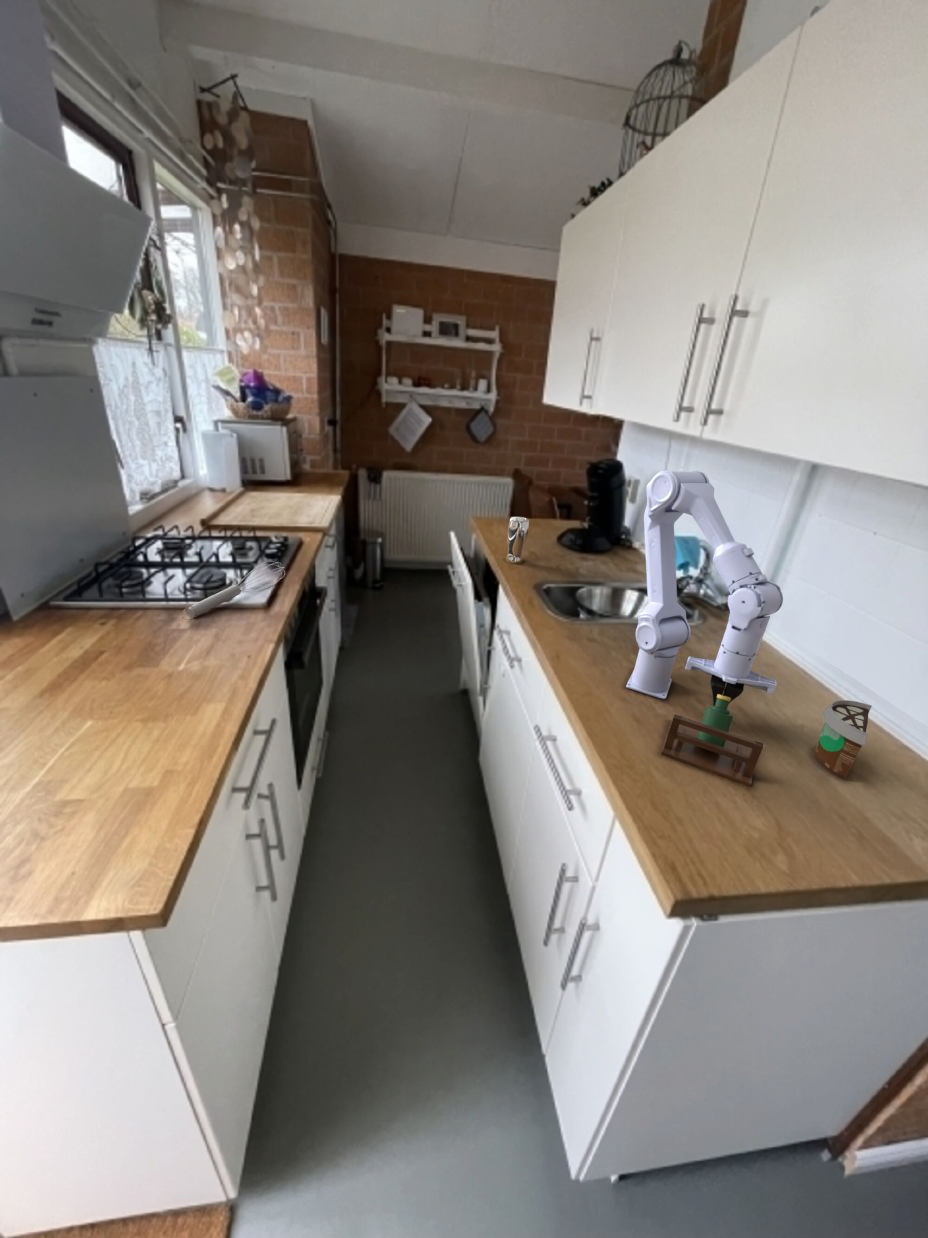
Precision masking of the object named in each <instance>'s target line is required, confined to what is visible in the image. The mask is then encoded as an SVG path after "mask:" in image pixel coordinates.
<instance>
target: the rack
mask: <svg viewBox="0 0 928 1238" xmlns="http://www.w3.org/2000/svg"><path fill="white" fill-rule="evenodd" d="M699 731H701V732H704V733H707V734H710V735H713V736H716V737H719V738H722V739H725V740H726V742H725V745H724V747H722V746H719V745H716V744H713V743H710V742H707V741H704V740H701V739H698V738H697V736H698V732H699ZM763 749H764V742H761V741H758V740H754V739H751V738H748V737H745V736H742V735H739V734H736V733H732V732H730V731H729V732H727V731H724V730H721V729H718V728H715V727H711V726H708V725H705V724H702V722H699V721H696V720H693V719H690V718H688V717H687V718H686V717H684V716H682V715H679V714H676V713H674V714H673V717H672V720H671V719H670V721H669V724H668V728H667V732H666V734H665V738H664V741H663V745H662V749H661V752H660V755H661V756H665V757H667V758H668V757H669V758H670V759H673V760H676V761H679V762H681V763H684V764H686V765H690V766H692V767H695V768H698V769H701V770H703V771H706V772H709V773H712V774H715V775H717V776H720V777H723V778H726V779H729V780H730V781H734V782H737V783H740V784H743V785H745V786H747V787H751V786H752V783H753V773H754V771H755V768H756V767H757V764H758V761H759V759H760V757H761V754H762V752H763Z"/></svg>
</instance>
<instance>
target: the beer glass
mask: <svg viewBox="0 0 928 1238" xmlns="http://www.w3.org/2000/svg"><path fill="white" fill-rule="evenodd" d="M529 523H530V519H529V518H527V517H523V516H510V517H509V520H508V525H507V535H506V536H507V538H506V539H507V552H506V556H505V560H504V561H505V562H507V563H509V564H522V563H523V553H524V548H525V545H526V542H527V538H528V533H529V525H530V524H529ZM512 560H513V561H512ZM520 560H521V561H520Z"/></svg>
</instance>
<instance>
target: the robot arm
mask: <svg viewBox="0 0 928 1238" xmlns="http://www.w3.org/2000/svg"><path fill="white" fill-rule="evenodd" d="M645 489H646V506H645V509H644V514H643V527H644V528H643V529H644V548H645V551H644V552H645V569H646V571H645V572H646V590H647V605H645V607H644V608H643V609H642V610H641V611H640V612H639V614H638V616H637V617H638V619H637V620H638V622H637V626H636V629H635V640H636V643H637V645H638V648H639V649H638V653H637V658H636V661H635V665H634V668H633V671H632V673H631V675H630V677H629V679H628V680H627V683H626V685H625V687H626V688H627V689H629V690H633V691H636V692H639V693H642V694H645V695H648V696H651V697H655V698H658V699H661V700H666V699H667V696H668V694H669V690H670V687H671V684H672V681H673V679H672V678H671V676H672V672H673V670H674V666H675V663H676V659H677V655H678V652H680V650H681V646H684V645H686V644H687V643H688V642H689V640H690V639H691V635H692V631H691V630H692V629H691V626H690V624H689V621H688V619H687V611H686V609H685V608H684V607H683V606H681V604H679V602H678V589H677V588H678V587H677V565H676V543H675V542H676V541H675V539H676V538H675V523H676V522H677V521H678V520H679V518H681V517H682V515H683V514H685V515H690V516H691V517H692V518H693V519H694V522H696V524H697V526H698V527H699V529H700V530H701V532H702V533H703V535H704V536H705V538H706V540H707V541H708V542H709V544H710V545H711V547H712V549H713V550H714V554H713V557H712V564H713V565H714V567H715V568H716V570H717V571H718V575H719V576H720V578H721V580H722V582H723V583H724V585H725V587H726V589H727V590H728V593H729V595H728V597H727V606H728V609H729V616H728V618H727V619H728V621H727V625H726V627H725V630H724V634H723V638H722V640H721V643H720V646H719V649H718V653H717V655H716V658H715V660H713V659H708V658H707V659H706V658H699V657H694V656H690V655H689V656H688V657H687V661H686V663H685V668H684V670H686V671H695V672H699V673H702V674H705V675H709V676H710V688H711V693H712V704H713V705H712V706H715V703H716V700H717V694H719V695H723V696H726V697H729V698H731V701H729V704H731V703H732V702H733V701H734V700H735V699H737V698H738V697H740V696H741V695H742V694H743V692H744V688H745V686H748V687H751V688H754V689H758V690H762V691H765V692H766V694H769V695H774V694H775V691H776V689H777V686H778V684H777V680H776V679H773V678H770V677H767V676H765V675H762V674H760V673H757V672H755V671H752V667H753V665H754V662H755V659H756V657H757V654H758V651H759V648H760V646H761V644H762V640H763V638H764V635H765V632H766V629H767V627H768V624H769V621H770V619H771V616H770V615H774V614H775V613H776V612H778V611H779V610H780V609H781V608H782V606H783V603H784V596H783V592H782V589H781V586H780V585H778V584H777V583H776V582H774V581H772V580H769V579H768V578H767V576H766V574H764V573H763V572H762V570H761V569H760V567H759V565H758V564H757V562H756V559H755V558H754V555H755V552H754V551H753V549H752V547H748V546H747V545H746V544H745V543H741V542H737V541H736V540H735V538H734V536H733V534H732V533H731V530H730V529H729V526H728V523H727V521H726V519H725V517H724V516H723V514H722V511H721V509H720V508H719V504H718V503H717V501H716V498H715V487H714V486H713V484H712V483H711V482H710V480H709V478H708V476H707V474H706V473H705V472H703V471H701V470H692V471H685V470H684V471H681V470H679V471H675V470H673V471H672V470H667V469H666V470H661V471H659V472H657V473H656V474H655V475H654V476H653V477H652V479H651V480H650V481H649V482H648V484H647V485H646V488H645Z"/></svg>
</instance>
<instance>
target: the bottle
mask: <svg viewBox="0 0 928 1238" xmlns="http://www.w3.org/2000/svg"><path fill="white" fill-rule="evenodd" d="M729 701H731V698H729V697H726V696H723V694H722V695H719V694H717V700H716V703H715V706H713V705H710V707H708V706H706V707H705V709H704V713H703V716H702V720H701V723H702V724H705V725H708V726H711V727H715V728H718V729H721V730H724V731H727V732H730V728H731V726H732V722H733V719H734V715H733V714H730V713H731V710H729V709H728V708H729V705H730V703H729ZM697 738H698V739H701V740H704V741H707V742H710V743H713V744H716V745H719V746H722V747H724V745H725V742H726V740H725V739H722V738H719V737H716V736H713V735H710V734H707V733H704V732H701V731H699V732H698V736H697Z"/></svg>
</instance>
